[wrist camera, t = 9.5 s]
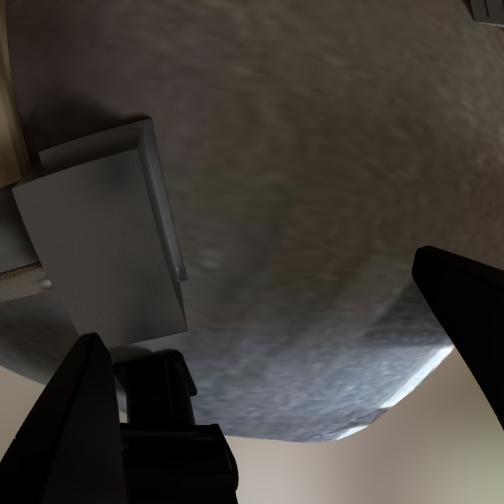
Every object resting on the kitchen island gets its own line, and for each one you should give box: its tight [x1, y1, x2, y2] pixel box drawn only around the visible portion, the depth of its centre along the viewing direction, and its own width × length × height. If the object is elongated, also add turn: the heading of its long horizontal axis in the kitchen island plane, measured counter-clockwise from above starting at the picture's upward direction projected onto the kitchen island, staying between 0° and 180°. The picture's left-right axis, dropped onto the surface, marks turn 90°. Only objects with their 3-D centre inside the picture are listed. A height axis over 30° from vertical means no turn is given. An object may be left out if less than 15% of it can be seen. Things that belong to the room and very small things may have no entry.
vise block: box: [0, 118, 188, 348], centre depth 16 cm, size 11×14×6 cm
